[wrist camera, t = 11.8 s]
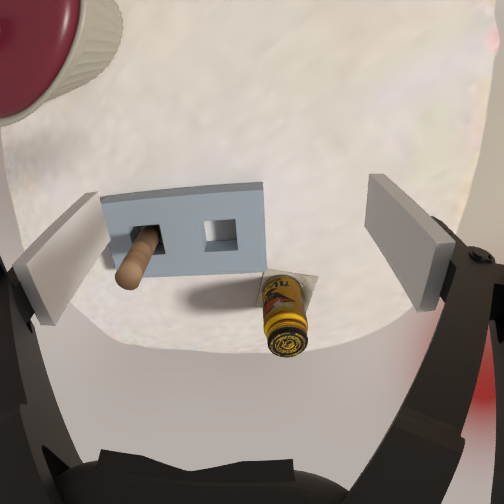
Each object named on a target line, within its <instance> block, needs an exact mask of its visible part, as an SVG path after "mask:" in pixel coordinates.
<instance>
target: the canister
mask: <svg viewBox="0 0 504 504" xmlns="http://www.w3.org/2000/svg"><path fill="white" fill-rule="evenodd" d="M122 22H123V19H122V17H121V12H120V10H119V7H118V5H117V4H116V3H115V1H114V0H0V126H6V125H10V124H13V123H15V122H18V121H20V120H22V119H24V118H25V117H27V116H29V115H30V114H31V113H33V112H34V111H35V110H37V109H38V108H39V107H40V106H41V105H42V104H43V103H45V102H47V101H49V100H51V99H54V98H56V97H58V96H60V95H63V94H65V93H67V92H69V91H71V90H74V89H76V88H78V87H80V86H82V85H84V84H86V83H88V82H89V81H90V80H92V79H94V78H96V77H97V76H98V75H99V74H100V73H102V72H103V71H104V69H105V68H106V67H107V66H108V65H109V63H110V62H111V60H112V59H113V58H114V56H115V54H116V52H117V51H118V47H119V45H120V44H121V43H120V42H121V38H122V30H123V25H122Z"/></svg>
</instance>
